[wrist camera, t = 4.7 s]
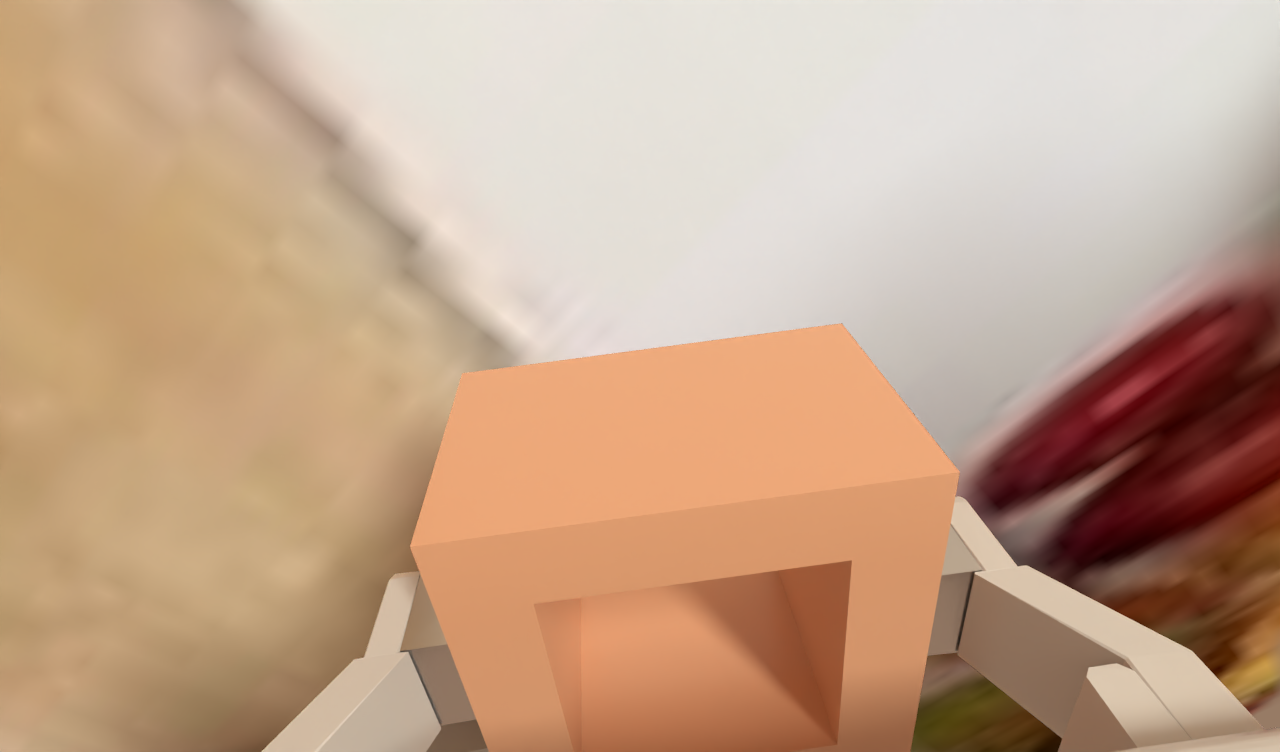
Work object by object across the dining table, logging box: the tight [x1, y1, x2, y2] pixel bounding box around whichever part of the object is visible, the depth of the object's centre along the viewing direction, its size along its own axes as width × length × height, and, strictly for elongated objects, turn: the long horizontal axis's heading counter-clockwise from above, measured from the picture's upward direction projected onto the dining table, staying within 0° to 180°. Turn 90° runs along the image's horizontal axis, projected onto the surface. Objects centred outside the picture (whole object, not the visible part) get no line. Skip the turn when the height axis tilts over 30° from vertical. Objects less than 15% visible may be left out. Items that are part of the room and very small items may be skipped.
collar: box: [410, 323, 960, 752], centre depth 11 cm, size 6×6×4 cm
